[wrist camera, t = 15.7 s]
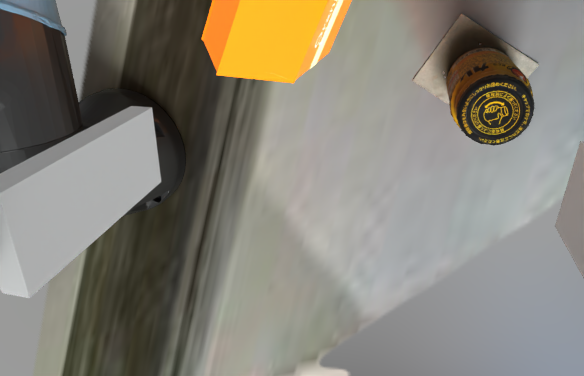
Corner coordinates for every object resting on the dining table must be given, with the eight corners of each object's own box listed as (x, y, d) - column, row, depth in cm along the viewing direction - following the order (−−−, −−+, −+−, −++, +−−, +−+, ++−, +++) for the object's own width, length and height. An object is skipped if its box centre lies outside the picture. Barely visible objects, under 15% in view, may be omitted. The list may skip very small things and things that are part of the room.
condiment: (483, 127, 46) (500, 173, 35) (412, 80, 46) (407, 112, 35) (538, 64, 42) (575, 94, 32) (461, 12, 42) (472, 26, 32)
